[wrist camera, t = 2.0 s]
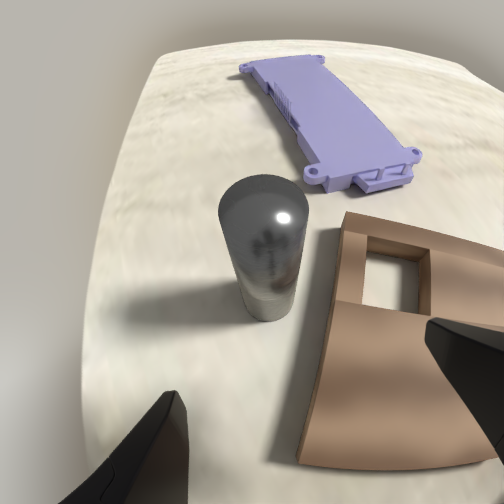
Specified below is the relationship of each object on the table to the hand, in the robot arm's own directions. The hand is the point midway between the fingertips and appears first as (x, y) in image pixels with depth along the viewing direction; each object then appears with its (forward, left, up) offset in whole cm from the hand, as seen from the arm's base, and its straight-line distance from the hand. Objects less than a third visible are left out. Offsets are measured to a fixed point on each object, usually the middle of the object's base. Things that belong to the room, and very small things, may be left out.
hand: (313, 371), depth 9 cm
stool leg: (+6, +3, -13) cm, 15 cm away
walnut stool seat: (+4, -12, -13) cm, 18 cm away
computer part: (+32, +2, -13) cm, 35 cm away
